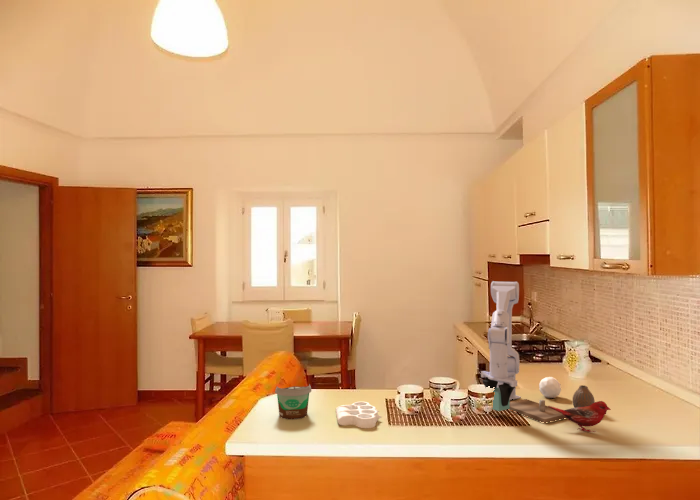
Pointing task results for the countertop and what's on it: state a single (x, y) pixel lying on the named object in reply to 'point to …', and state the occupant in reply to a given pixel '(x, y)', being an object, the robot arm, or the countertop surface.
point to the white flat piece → (358, 415)
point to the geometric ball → (550, 387)
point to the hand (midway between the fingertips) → (498, 403)
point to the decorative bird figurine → (585, 414)
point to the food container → (293, 401)
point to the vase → (582, 397)
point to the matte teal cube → (499, 401)
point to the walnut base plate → (536, 410)
